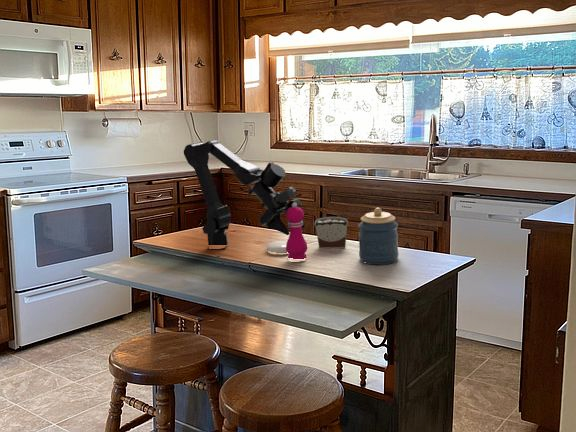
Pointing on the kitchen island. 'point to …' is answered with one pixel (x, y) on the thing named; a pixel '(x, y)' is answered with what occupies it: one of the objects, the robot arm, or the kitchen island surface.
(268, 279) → the kitchen island surface
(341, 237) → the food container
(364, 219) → the canister
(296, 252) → the pepper mill
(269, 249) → the stand
